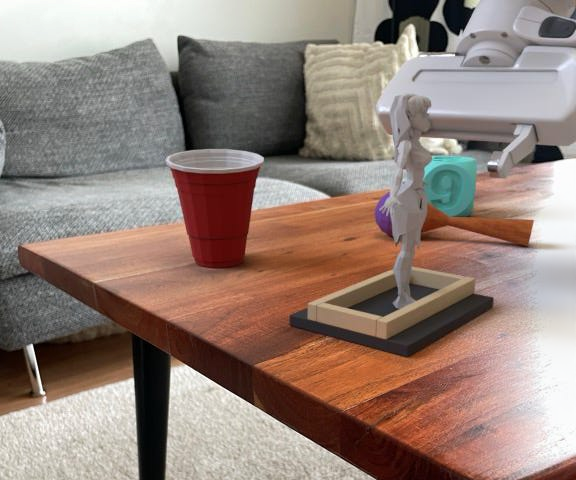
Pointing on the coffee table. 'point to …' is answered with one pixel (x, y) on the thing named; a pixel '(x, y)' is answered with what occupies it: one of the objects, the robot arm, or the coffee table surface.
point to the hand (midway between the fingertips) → (447, 169)
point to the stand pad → (395, 311)
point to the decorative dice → (451, 184)
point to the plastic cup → (216, 201)
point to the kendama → (464, 224)
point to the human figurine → (408, 185)
